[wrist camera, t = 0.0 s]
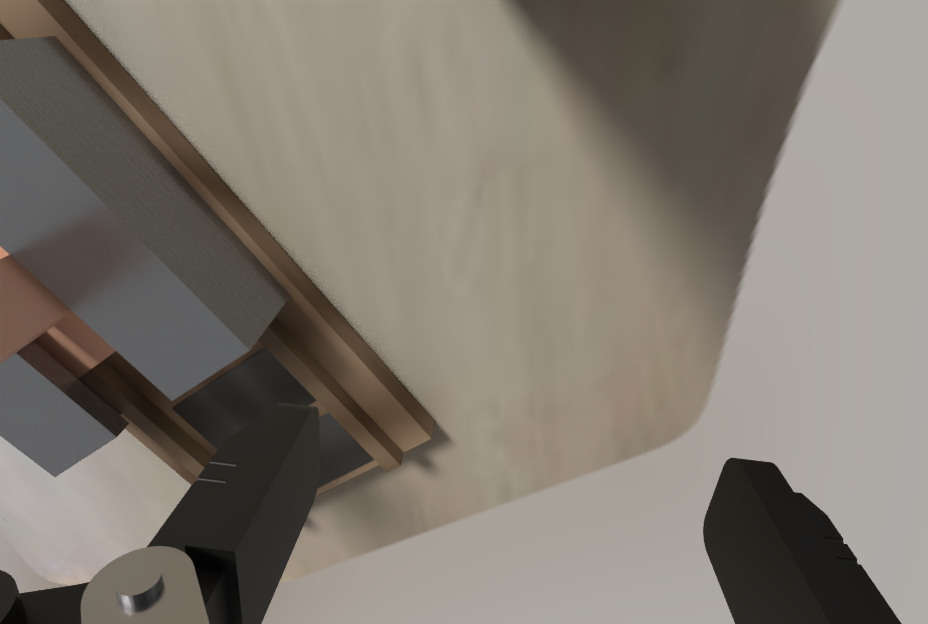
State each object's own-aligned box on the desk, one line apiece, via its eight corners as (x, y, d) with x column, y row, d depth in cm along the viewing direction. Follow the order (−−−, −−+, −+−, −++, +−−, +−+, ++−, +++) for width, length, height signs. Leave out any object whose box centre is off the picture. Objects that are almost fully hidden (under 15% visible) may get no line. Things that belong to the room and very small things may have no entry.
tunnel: (-112, 218, 27) (-230, 259, 23) (55, 36, 23) (-53, 44, 18) (116, 413, 32) (54, 477, 28) (291, 295, 28) (249, 350, 23)
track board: (-317, 14, 25) (-397, 16, 23) (-165, -259, 20) (-248, -291, 18) (255, 512, 38) (239, 544, 36) (434, 421, 33) (429, 451, 31)
